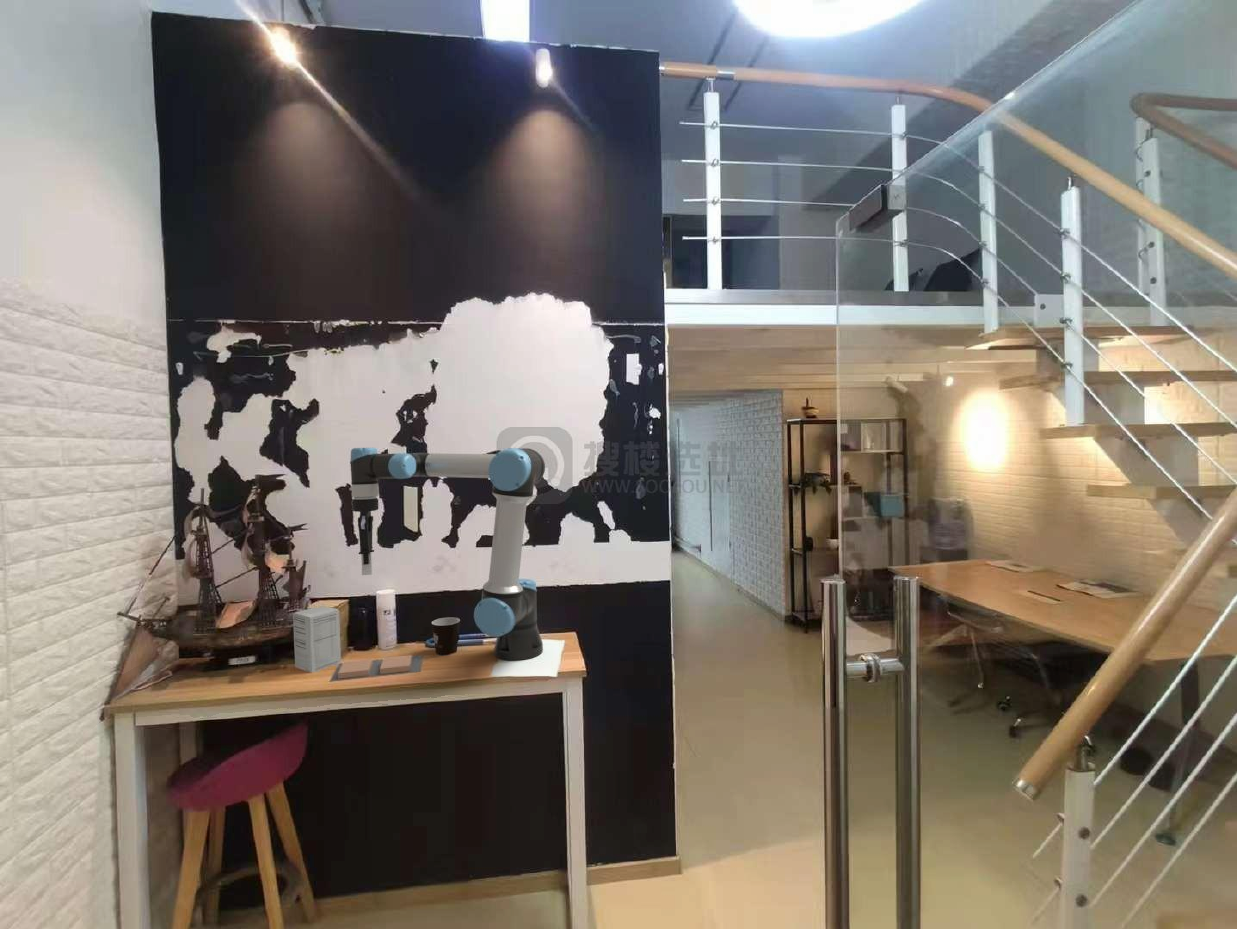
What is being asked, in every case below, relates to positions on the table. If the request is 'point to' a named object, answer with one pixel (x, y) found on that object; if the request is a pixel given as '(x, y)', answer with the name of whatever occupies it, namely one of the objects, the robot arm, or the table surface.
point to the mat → (375, 669)
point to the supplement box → (316, 638)
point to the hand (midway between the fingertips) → (367, 574)
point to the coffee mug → (446, 635)
